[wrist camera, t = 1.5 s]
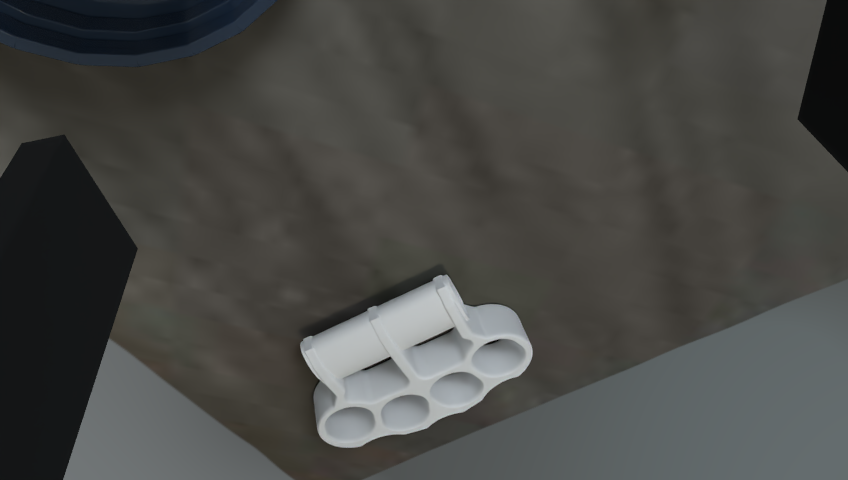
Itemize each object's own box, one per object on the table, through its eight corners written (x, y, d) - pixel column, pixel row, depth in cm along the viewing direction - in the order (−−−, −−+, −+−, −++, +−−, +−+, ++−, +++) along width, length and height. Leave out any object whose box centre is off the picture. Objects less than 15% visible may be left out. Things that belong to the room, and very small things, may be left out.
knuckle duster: (481, 243, 47) (536, 353, 57) (259, 347, 49) (349, 437, 59) (496, 275, 45) (550, 384, 55) (261, 384, 47) (354, 471, 56)
